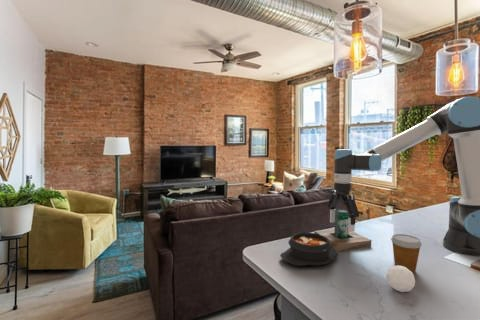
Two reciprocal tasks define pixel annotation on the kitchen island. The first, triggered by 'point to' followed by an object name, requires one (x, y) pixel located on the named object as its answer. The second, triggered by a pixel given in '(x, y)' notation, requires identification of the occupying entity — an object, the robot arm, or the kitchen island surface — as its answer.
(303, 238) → the casserole
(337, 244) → the frame
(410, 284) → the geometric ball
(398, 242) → the disposable coffee cup
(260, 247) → the kitchen island surface
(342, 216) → the can
